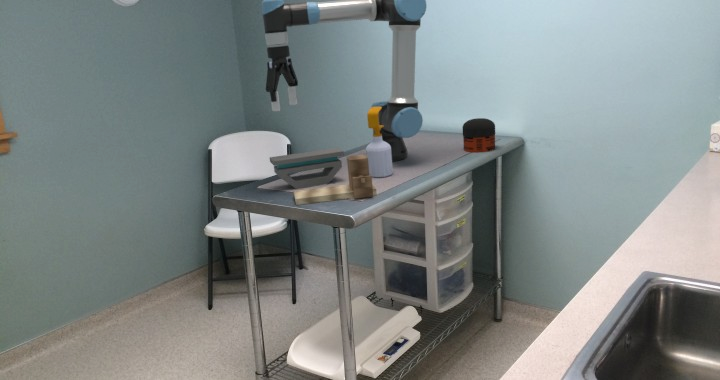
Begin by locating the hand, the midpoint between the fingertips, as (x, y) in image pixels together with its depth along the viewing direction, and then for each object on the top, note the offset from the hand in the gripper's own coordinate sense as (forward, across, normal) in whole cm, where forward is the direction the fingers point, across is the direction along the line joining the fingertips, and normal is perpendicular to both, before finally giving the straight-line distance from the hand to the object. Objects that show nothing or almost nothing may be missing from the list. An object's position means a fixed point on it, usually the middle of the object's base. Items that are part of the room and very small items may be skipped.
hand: (285, 107), depth 217 cm
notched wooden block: (+27, +13, +30) cm, 43 cm away
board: (+27, +15, +22) cm, 38 cm away
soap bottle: (+28, -13, +29) cm, 42 cm away
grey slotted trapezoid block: (+28, +1, +6) cm, 28 cm away
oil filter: (+28, -55, +58) cm, 84 cm away
